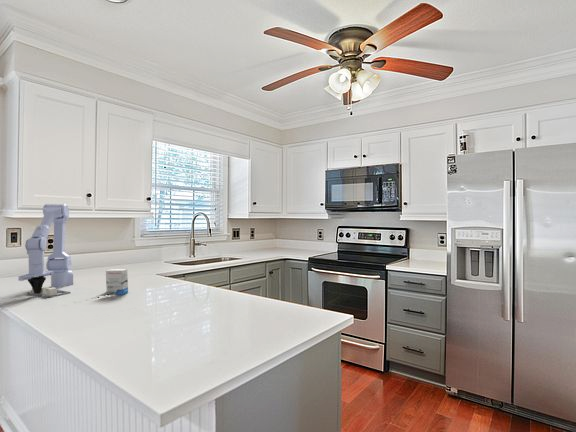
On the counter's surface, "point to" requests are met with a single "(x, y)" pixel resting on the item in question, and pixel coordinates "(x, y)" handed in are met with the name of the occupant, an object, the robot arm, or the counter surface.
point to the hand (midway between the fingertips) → (37, 293)
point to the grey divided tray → (52, 295)
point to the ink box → (117, 281)
